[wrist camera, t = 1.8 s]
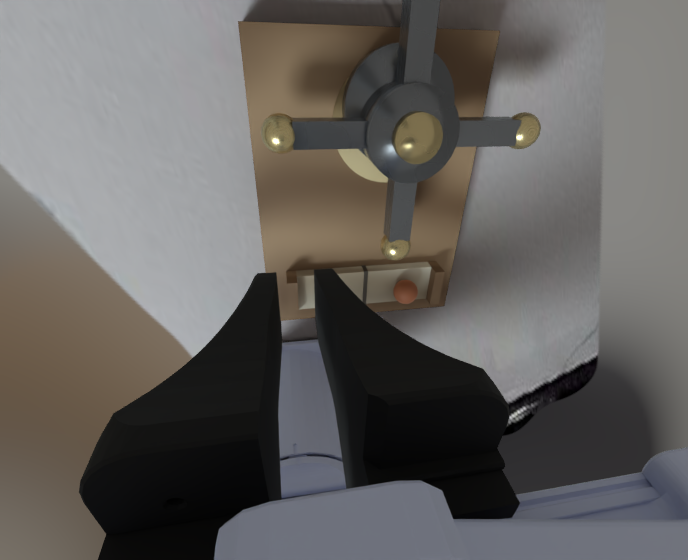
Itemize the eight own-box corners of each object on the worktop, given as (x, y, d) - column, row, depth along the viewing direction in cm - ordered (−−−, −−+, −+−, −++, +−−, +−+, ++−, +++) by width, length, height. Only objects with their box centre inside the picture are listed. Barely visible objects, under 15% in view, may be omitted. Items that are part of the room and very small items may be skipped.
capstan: (483, 235, 22) (519, 265, 19) (273, 247, 20) (273, 283, 17) (549, -37, 16) (620, -60, 12) (244, -58, 14) (237, -91, 10)
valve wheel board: (436, 294, 27) (457, 325, 24) (271, 308, 25) (271, 344, 22) (484, 32, 18) (527, 27, 15) (240, 24, 16) (233, 16, 13)
